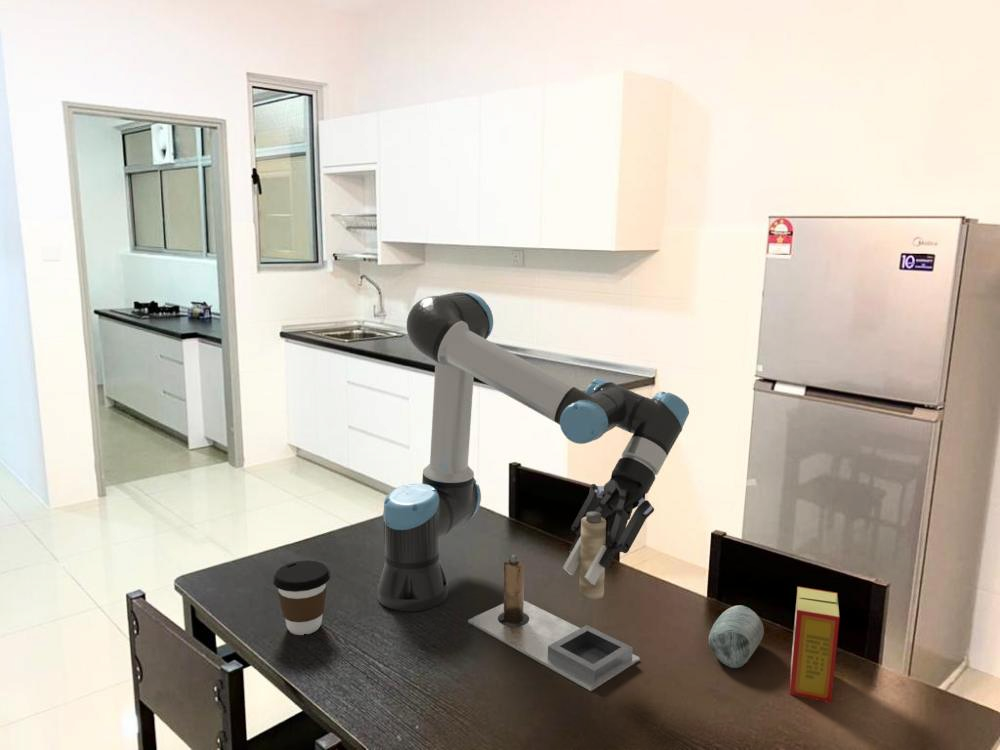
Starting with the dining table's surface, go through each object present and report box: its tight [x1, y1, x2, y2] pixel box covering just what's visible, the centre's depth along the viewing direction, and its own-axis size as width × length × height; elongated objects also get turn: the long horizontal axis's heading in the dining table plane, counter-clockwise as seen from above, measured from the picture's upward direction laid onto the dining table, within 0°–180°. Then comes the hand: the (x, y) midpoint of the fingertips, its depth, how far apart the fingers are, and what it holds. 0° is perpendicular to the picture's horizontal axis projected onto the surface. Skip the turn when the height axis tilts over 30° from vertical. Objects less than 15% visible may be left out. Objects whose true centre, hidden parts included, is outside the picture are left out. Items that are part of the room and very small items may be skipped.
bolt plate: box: [467, 553, 640, 692], centre depth 146 cm, size 32×14×14 cm, turn 44°
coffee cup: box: [272, 560, 331, 636], centre depth 151 cm, size 11×11×12 cm
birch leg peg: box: [579, 512, 607, 600], centre depth 136 cm, size 4×4×15 cm
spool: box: [708, 604, 765, 669], centre depth 142 cm, size 14×10×10 cm
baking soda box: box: [789, 586, 840, 703], centre depth 132 cm, size 10×6×16 cm
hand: (578, 576), depth 134 cm, fingers closed on birch leg peg, 4 cm apart
